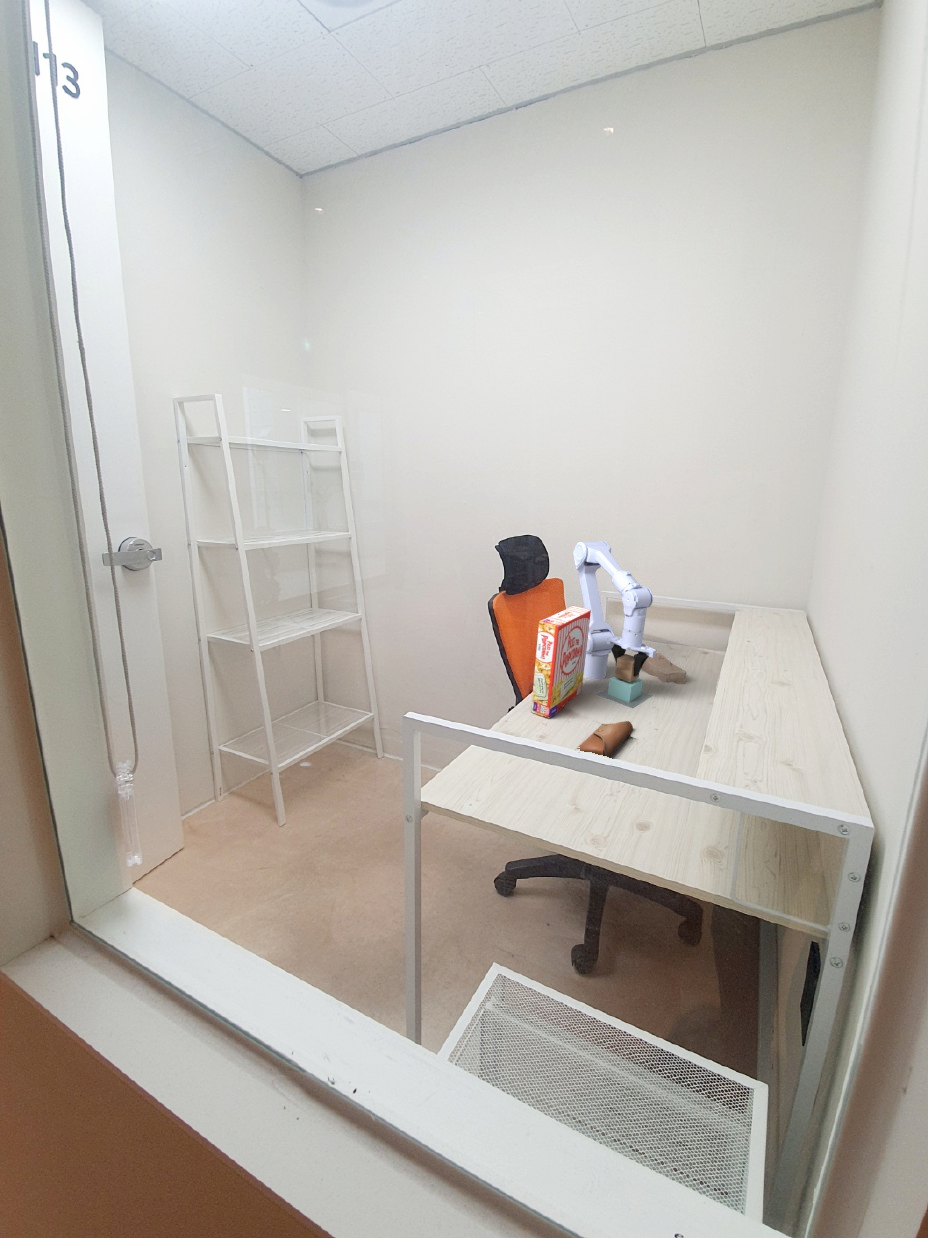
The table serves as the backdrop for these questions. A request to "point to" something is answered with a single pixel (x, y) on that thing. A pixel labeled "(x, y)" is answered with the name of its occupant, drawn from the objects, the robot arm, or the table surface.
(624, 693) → the base brick
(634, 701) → the baseplate
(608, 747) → the sunglasses case
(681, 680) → the brick
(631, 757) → the table surface
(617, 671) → the walnut block
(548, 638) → the cardboard food box
